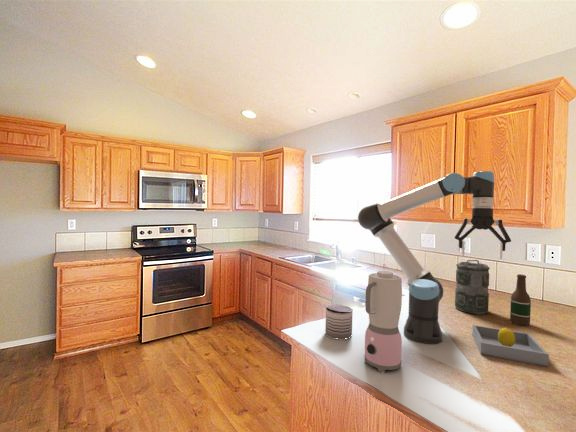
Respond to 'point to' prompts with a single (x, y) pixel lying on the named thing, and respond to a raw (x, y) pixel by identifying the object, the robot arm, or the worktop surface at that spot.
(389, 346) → the blender
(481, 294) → the canister
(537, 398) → the worktop surface
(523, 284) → the beer bottle
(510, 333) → the lemon
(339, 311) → the can
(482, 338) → the box
